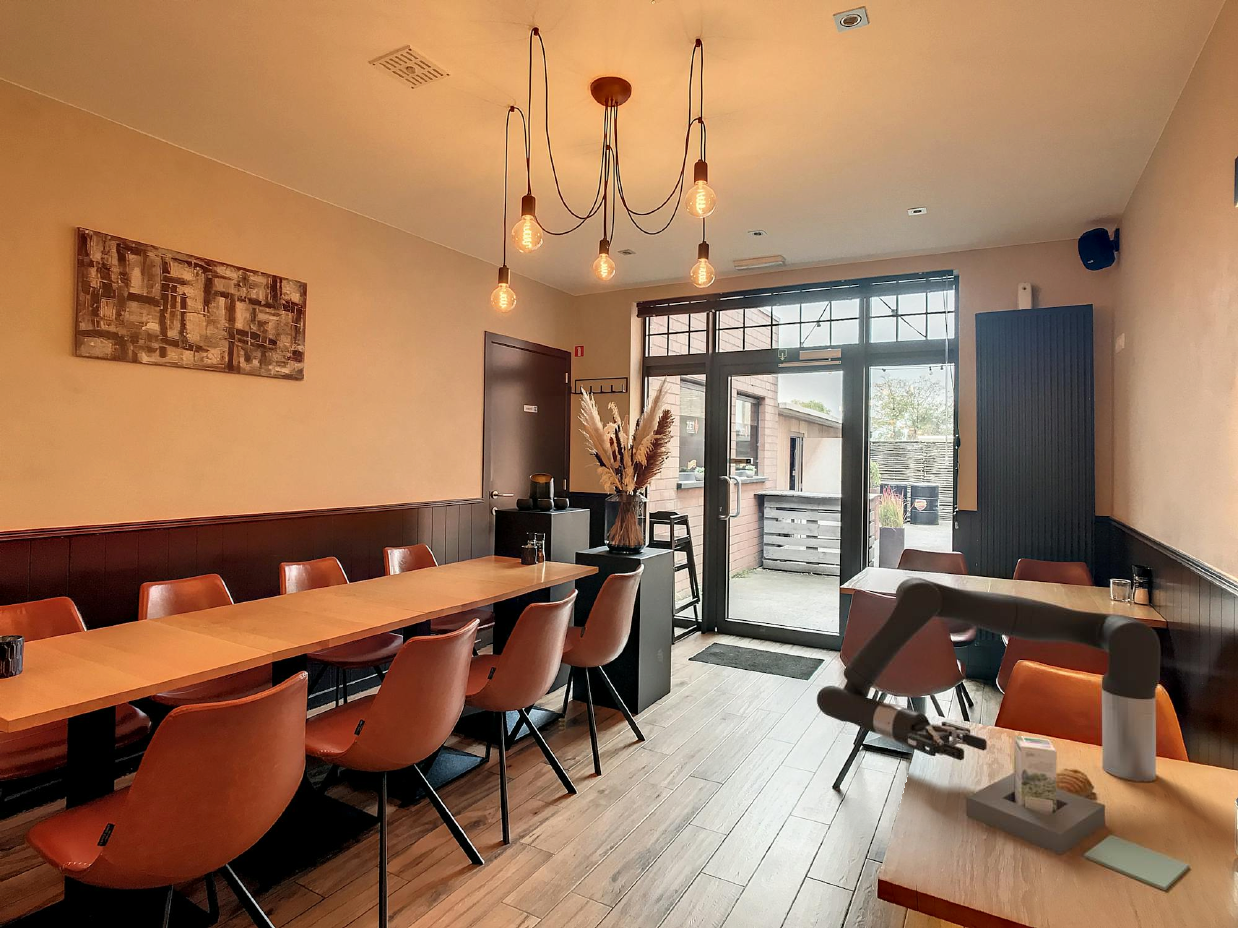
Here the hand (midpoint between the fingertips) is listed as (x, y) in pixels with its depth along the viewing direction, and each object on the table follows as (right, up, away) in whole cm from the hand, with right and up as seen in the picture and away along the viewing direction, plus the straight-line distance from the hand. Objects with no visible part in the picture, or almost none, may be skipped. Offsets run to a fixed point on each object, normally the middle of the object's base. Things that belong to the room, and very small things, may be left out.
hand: (974, 749), depth 135 cm
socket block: (+6, -9, -9) cm, 14 cm away
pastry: (+21, -10, +2) cm, 23 cm away
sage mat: (+15, -9, -23) cm, 29 cm away
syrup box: (+6, -9, -9) cm, 15 cm away
